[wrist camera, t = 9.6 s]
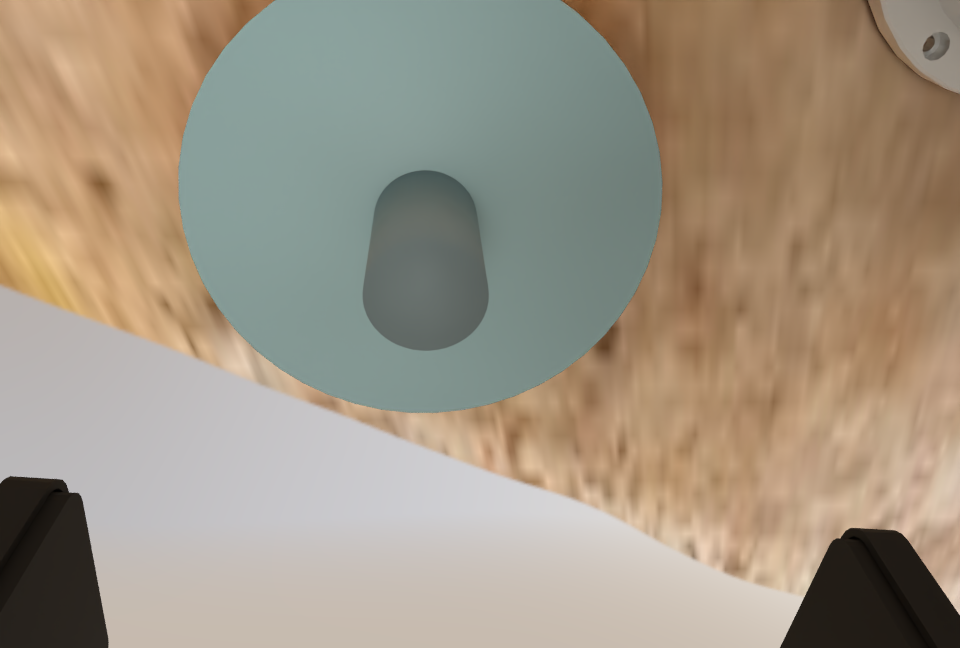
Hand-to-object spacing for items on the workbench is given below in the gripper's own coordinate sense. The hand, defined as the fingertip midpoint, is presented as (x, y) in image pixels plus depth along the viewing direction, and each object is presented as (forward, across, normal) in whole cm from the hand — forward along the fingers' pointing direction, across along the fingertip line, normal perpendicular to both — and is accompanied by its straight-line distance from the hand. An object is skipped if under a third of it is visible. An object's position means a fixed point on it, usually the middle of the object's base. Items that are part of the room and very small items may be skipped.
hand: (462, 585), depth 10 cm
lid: (+14, +1, 0) cm, 14 cm away
